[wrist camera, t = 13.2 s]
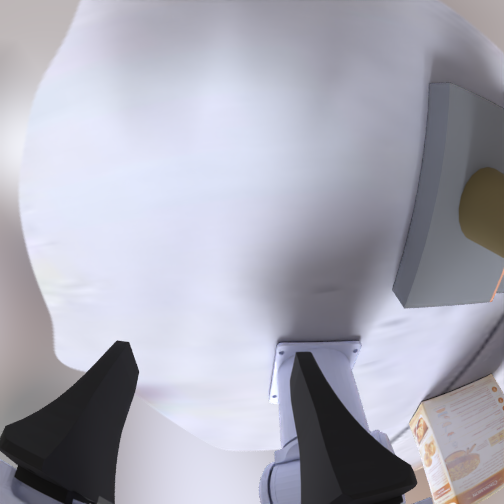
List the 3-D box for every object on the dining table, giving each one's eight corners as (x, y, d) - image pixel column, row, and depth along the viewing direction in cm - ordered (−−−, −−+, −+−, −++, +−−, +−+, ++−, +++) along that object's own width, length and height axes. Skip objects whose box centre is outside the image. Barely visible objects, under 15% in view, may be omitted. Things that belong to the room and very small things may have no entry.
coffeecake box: (407, 424, 34) (437, 524, 17) (420, 400, 31) (460, 514, 14) (476, 397, 33) (513, 480, 16) (492, 372, 30) (538, 460, 13)
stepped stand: (506, 286, 23) (518, 298, 20) (392, 290, 22) (404, 308, 20) (543, 140, 15) (560, 146, 13) (429, 83, 15) (449, 82, 12)
